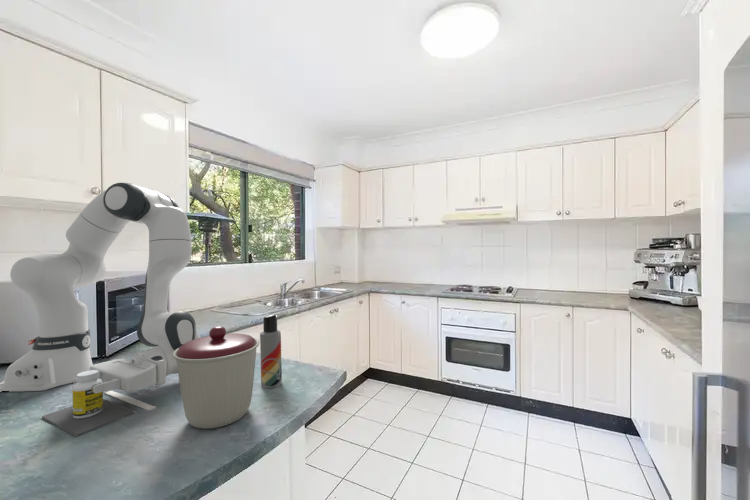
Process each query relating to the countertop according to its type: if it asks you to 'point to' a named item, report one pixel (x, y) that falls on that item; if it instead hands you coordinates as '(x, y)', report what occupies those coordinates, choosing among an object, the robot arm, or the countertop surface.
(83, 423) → the mat
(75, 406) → the supplement bottle
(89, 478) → the countertop surface
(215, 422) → the canister
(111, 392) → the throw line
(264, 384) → the lotion bottle
